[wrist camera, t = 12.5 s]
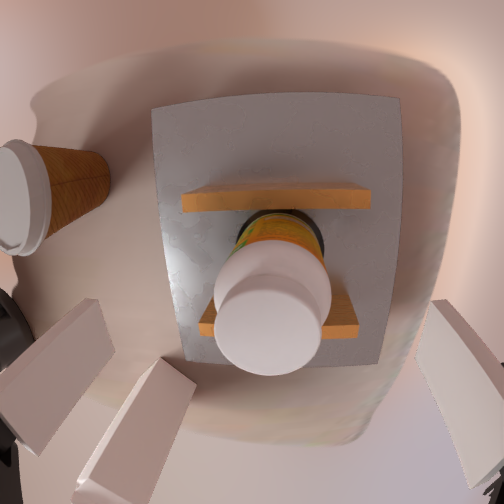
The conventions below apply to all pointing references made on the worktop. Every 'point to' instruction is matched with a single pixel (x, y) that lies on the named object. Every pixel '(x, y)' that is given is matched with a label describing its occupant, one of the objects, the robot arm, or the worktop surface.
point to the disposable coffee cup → (45, 192)
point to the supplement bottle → (272, 297)
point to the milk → (137, 440)
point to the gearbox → (283, 203)
